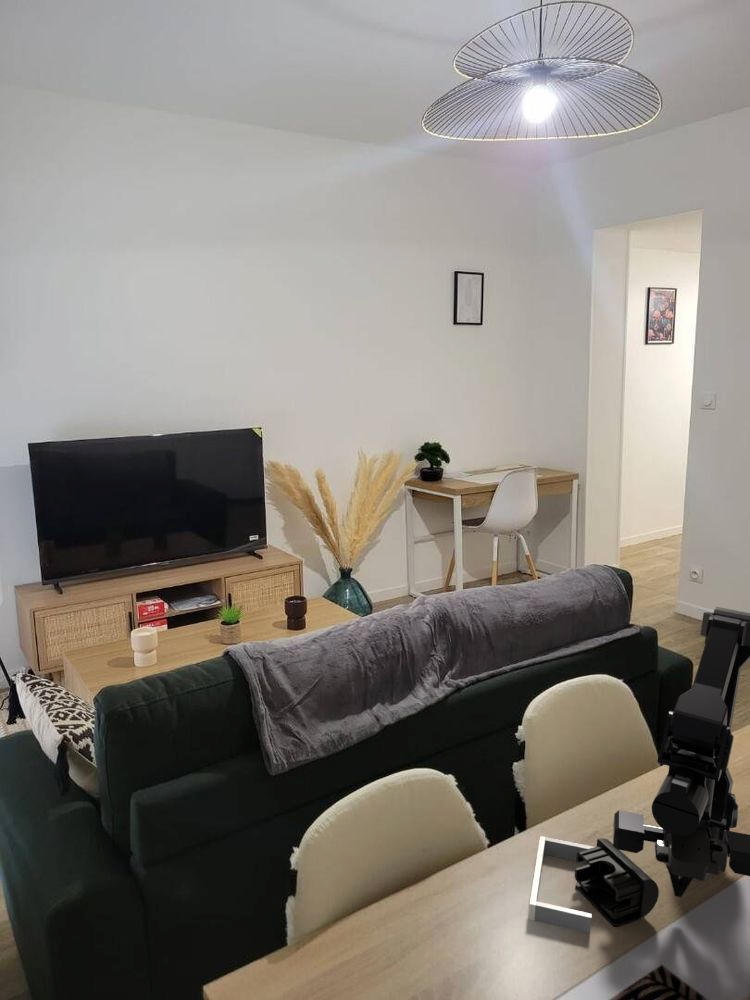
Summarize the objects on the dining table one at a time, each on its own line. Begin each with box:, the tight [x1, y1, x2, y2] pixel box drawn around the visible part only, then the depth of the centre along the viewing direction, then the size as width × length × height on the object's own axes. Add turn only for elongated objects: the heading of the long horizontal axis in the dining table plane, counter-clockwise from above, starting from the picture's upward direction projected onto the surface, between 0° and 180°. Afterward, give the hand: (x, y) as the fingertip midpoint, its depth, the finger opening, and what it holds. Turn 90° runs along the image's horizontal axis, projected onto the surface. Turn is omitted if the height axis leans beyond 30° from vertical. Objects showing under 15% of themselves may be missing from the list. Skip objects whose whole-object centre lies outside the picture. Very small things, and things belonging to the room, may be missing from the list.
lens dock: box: [528, 835, 595, 934], centre depth 114 cm, size 8×16×2 cm, turn 163°
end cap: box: [574, 837, 660, 929], centre depth 112 cm, size 10×7×7 cm
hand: (677, 894), depth 109 cm, fingers closed
